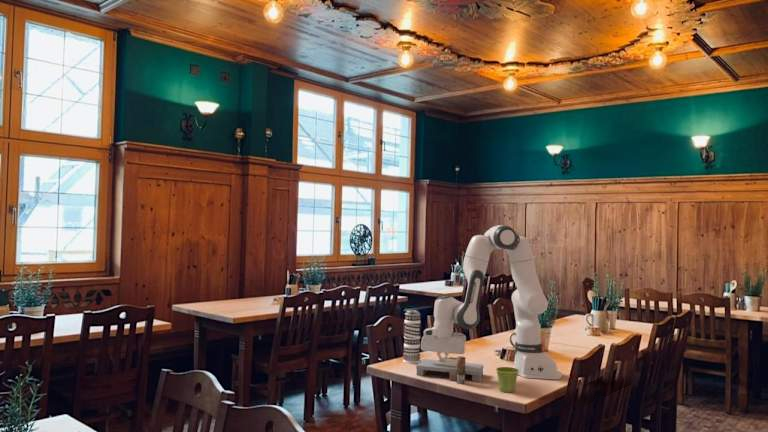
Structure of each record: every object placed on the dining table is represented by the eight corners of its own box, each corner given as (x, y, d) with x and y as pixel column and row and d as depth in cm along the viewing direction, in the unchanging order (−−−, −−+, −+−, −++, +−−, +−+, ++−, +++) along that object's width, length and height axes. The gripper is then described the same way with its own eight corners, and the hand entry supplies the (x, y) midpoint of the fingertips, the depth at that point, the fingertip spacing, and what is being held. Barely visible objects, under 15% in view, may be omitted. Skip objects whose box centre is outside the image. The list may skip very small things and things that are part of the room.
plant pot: (514, 395, 229) (514, 373, 229) (492, 391, 234) (492, 370, 234) (521, 390, 237) (522, 369, 237) (500, 386, 242) (500, 365, 242)
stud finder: (464, 365, 259) (464, 358, 259) (463, 367, 255) (463, 360, 255) (447, 363, 261) (447, 356, 261) (445, 365, 257) (445, 358, 258)
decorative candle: (407, 364, 277) (408, 312, 278) (399, 359, 286) (400, 309, 286) (424, 362, 281) (425, 311, 282) (415, 358, 290) (416, 309, 290)
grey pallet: (483, 373, 263) (483, 363, 263) (477, 383, 246) (478, 372, 246) (424, 367, 272) (424, 357, 272) (414, 376, 254) (415, 366, 255)
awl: (465, 382, 247) (466, 356, 247) (464, 384, 243) (464, 358, 244) (457, 381, 248) (457, 356, 248) (455, 383, 244) (456, 357, 245)
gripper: (467, 332, 260) (466, 362, 260) (423, 328, 266) (422, 358, 266) (464, 334, 254) (464, 365, 254) (420, 331, 260) (419, 361, 260)
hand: (442, 362), depth 260 cm, fingers closed
